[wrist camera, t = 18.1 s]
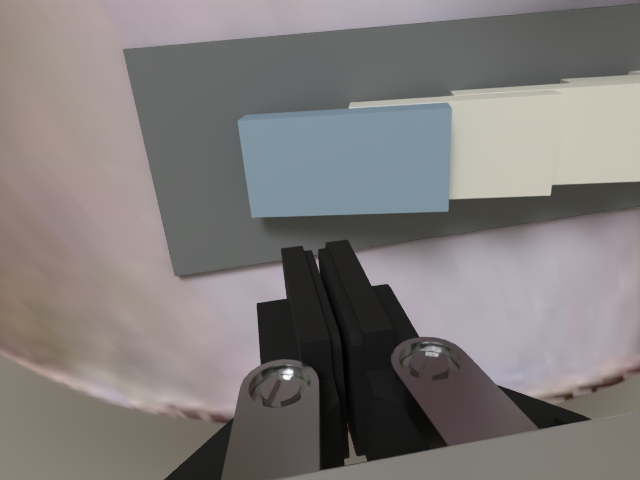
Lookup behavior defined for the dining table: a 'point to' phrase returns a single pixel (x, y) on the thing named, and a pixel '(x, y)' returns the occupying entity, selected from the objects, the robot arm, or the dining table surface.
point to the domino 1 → (498, 141)
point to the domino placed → (348, 160)
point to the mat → (337, 93)
